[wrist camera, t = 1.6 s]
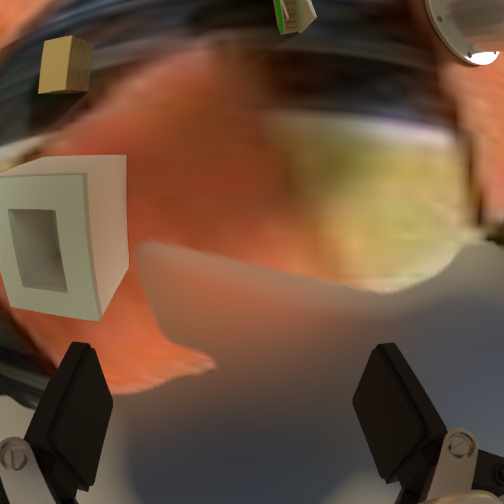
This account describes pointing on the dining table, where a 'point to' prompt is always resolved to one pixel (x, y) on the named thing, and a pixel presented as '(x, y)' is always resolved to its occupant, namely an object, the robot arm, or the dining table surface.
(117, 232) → the box
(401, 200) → the dining table surface
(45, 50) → the tan wooden block
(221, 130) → the dining table surface
